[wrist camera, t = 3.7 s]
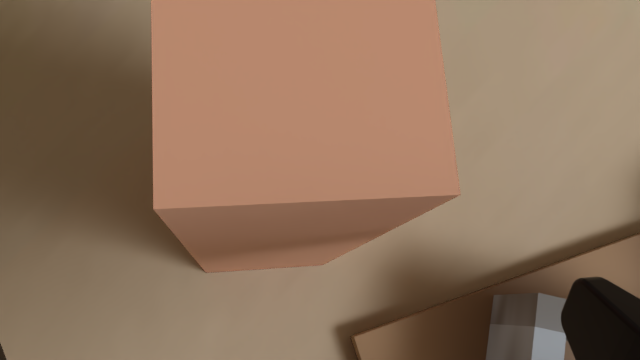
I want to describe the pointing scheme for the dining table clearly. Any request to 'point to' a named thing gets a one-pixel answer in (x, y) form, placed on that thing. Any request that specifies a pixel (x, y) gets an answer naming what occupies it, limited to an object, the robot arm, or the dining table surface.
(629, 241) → the cap board
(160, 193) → the pink rectangular block
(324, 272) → the dining table surface
